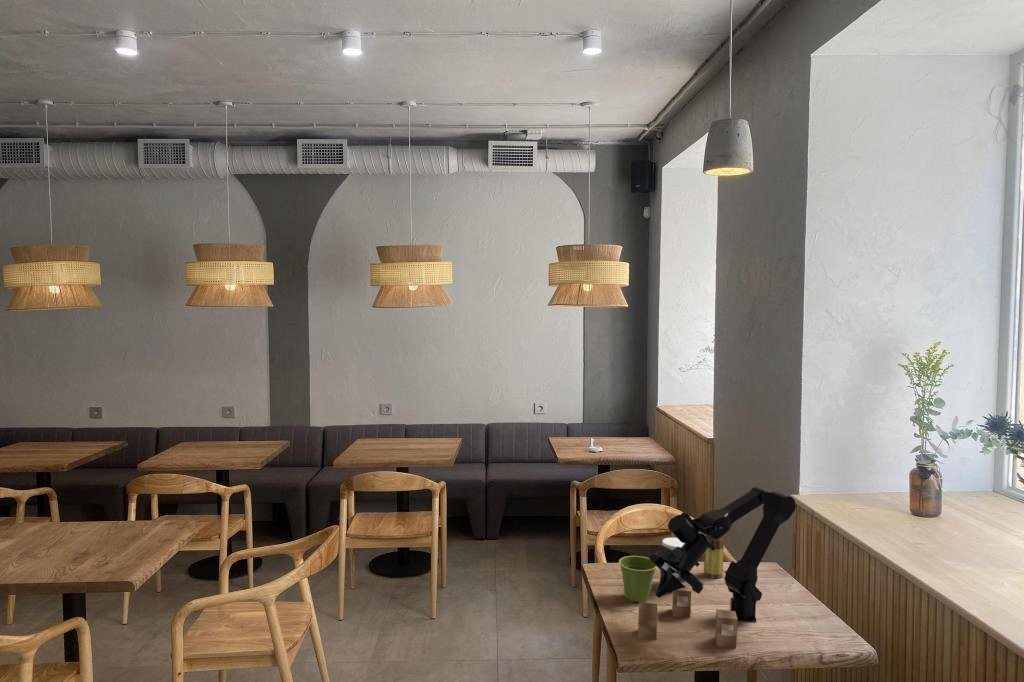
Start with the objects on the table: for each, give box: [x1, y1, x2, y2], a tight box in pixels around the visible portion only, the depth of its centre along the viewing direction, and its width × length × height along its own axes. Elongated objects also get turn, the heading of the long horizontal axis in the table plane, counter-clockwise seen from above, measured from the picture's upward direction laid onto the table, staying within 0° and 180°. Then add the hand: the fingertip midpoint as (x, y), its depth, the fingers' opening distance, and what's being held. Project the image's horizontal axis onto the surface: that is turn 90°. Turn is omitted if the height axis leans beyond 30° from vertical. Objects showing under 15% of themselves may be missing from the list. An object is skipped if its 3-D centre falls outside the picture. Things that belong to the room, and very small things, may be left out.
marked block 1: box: [671, 584, 692, 618], centre depth 214 cm, size 5×5×8 cm
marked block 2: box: [714, 609, 739, 649], centre depth 197 cm, size 5×5×8 cm
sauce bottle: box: [703, 534, 725, 579], centre depth 243 cm, size 6×6×20 cm
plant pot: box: [618, 555, 658, 603], centre depth 224 cm, size 12×12×11 cm
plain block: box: [637, 602, 658, 641], centre depth 201 cm, size 5×5×8 cm
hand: (657, 596), depth 201 cm, fingers closed
